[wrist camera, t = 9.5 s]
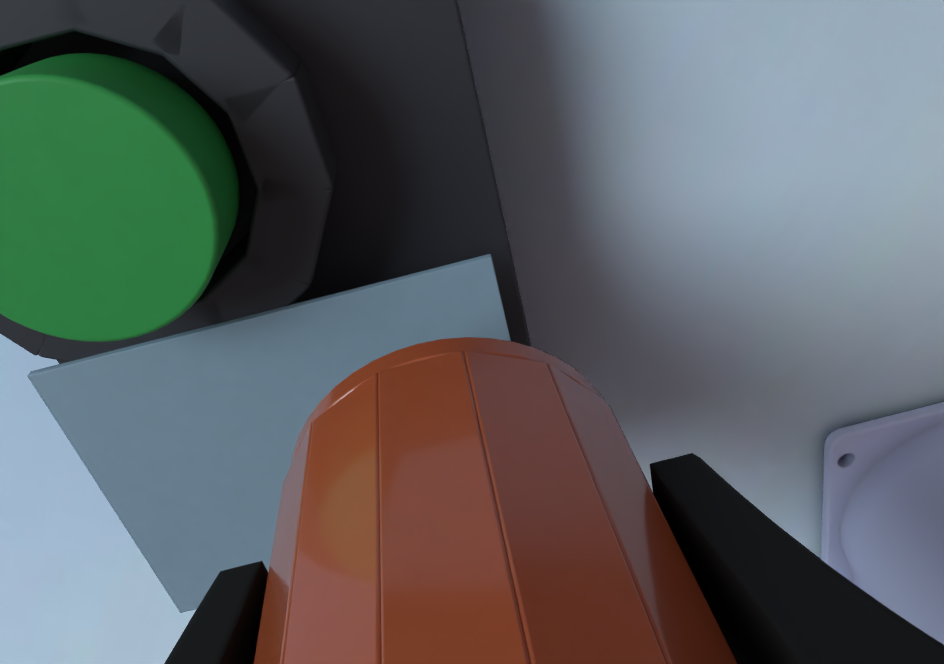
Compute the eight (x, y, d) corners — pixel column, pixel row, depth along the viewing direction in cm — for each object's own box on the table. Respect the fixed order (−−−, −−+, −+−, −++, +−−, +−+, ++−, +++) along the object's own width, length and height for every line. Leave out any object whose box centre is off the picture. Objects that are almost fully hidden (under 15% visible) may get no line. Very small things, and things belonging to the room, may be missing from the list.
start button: (274, 258, 13) (260, 307, 11) (58, 314, 13) (11, 371, 11) (181, 23, 11) (146, 40, 9) (-74, 89, 11) (-156, 117, 9)
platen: (550, 514, 16) (552, 519, 16) (181, 607, 16) (179, 613, 16) (489, 253, 13) (491, 257, 13) (30, 371, 13) (27, 376, 13)
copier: (536, 409, 20) (575, 524, 16) (202, 495, 20) (161, 629, 16) (415, -138, 14) (432, -164, 10) (-77, -10, 14) (-257, 14, 10)
